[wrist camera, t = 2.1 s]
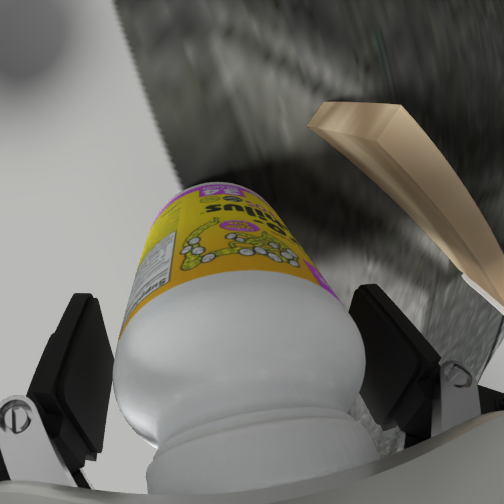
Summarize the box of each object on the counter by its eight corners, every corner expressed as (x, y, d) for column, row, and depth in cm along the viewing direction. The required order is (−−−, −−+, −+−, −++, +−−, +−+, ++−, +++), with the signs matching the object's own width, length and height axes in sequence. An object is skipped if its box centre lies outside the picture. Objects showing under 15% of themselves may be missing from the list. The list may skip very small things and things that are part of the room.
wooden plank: (323, 102, 13) (402, 105, 7) (472, 259, 20) (524, 300, 14) (305, 125, 13) (378, 141, 8) (462, 274, 20) (512, 317, 15)
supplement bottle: (304, 229, 16) (466, 441, 5) (226, 315, 18) (278, 541, 6) (202, 149, 13) (262, 399, 2) (125, 256, 15) (62, 519, 3)
